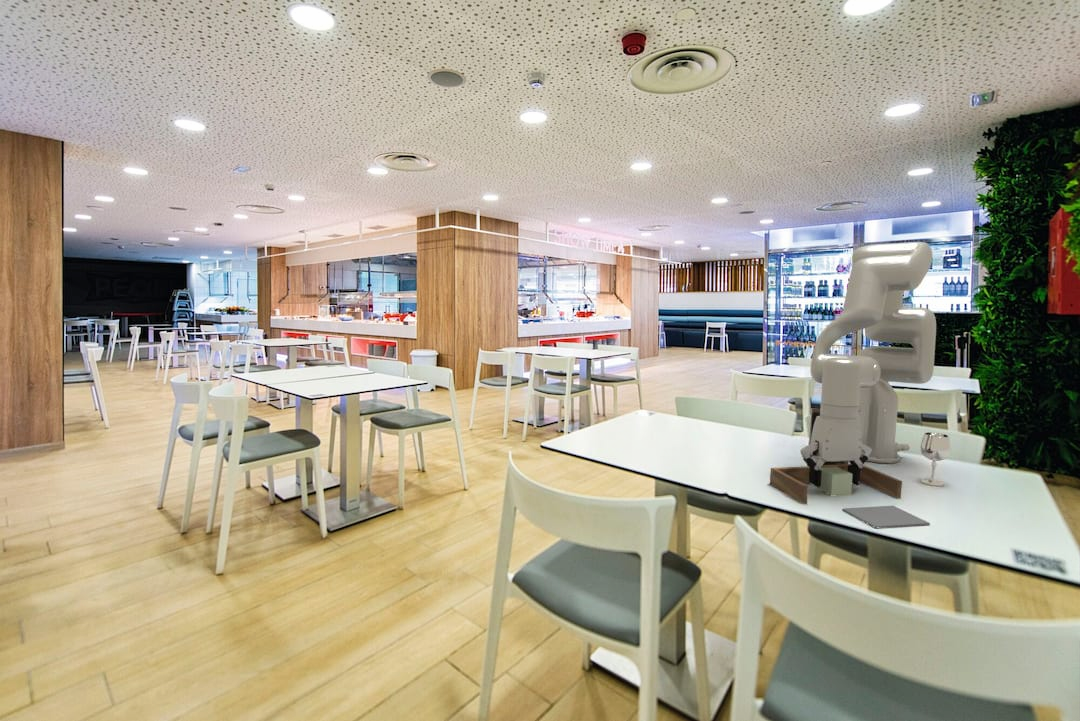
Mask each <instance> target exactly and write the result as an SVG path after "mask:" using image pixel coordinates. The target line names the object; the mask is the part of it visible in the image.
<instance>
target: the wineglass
mask: <svg viewBox="0 0 1080 721" xmlns="http://www.w3.org/2000/svg"><path fill="white" fill-rule="evenodd" d="M951 448H952V447H951V441H950V436H949V435H948V434H944V433H939V432H931V431H930V432H929V431H928V432H924V434H923V437H922V440H921V442H920V452H921V454H922V456H924V457H925V458H926V459H928V460H931V461H932V462H931V477H930V478H929V479H928V478H924V479H921V480H920V482H922V483H923V484H926V485H930V486H937V487H942V486H944V485H945V484H944V483H943V482H942V481H939V480H937V479H936V478H935V469H936V467H937V462H939V461H944V460H947V459H948V457H949V456H950V454H951Z"/></svg>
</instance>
